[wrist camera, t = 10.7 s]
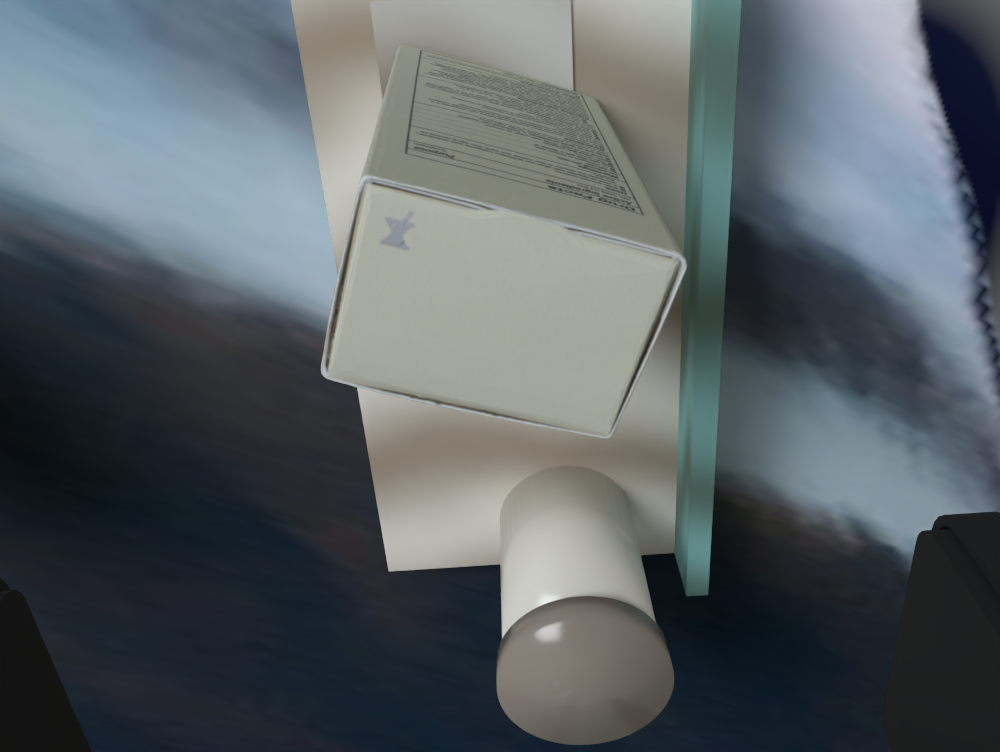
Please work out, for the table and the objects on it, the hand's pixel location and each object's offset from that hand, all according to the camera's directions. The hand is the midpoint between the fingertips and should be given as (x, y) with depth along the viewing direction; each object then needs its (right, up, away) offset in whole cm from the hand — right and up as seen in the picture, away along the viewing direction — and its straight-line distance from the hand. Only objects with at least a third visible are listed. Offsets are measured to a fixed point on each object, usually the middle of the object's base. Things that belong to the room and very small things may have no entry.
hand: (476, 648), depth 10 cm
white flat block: (+1, +6, +22) cm, 23 cm away
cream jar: (+3, -3, +25) cm, 25 cm away
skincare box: (0, +10, +18) cm, 21 cm away
